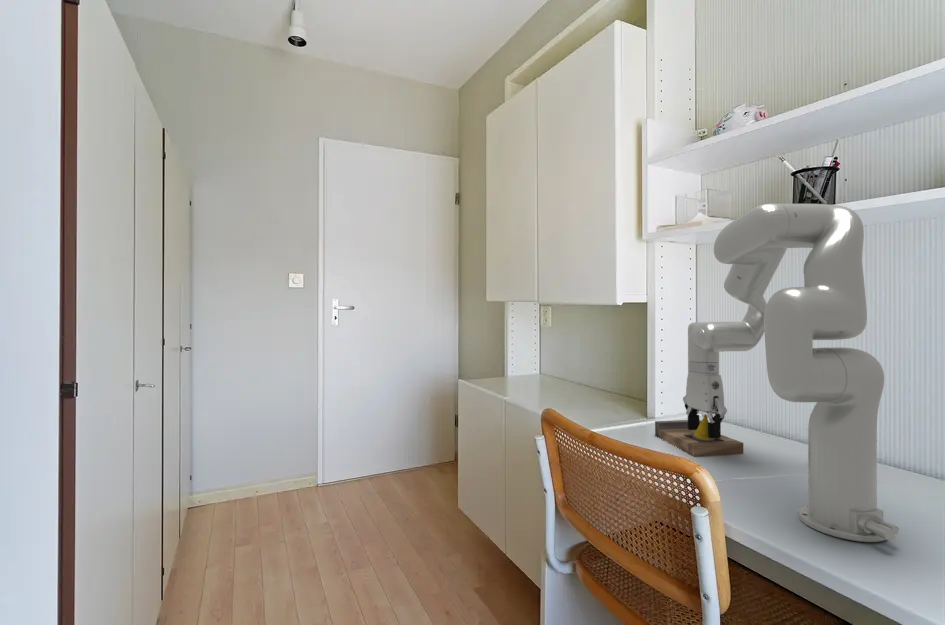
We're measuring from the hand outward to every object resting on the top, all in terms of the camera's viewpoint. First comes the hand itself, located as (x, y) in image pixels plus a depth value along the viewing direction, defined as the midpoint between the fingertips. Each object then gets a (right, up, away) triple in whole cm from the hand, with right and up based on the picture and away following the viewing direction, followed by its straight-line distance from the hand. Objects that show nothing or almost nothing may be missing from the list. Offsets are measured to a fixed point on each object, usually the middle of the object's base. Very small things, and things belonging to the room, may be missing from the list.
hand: (703, 433), depth 124 cm
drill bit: (0, -4, 0) cm, 4 cm away
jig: (-1, -4, +3) cm, 5 cm away
